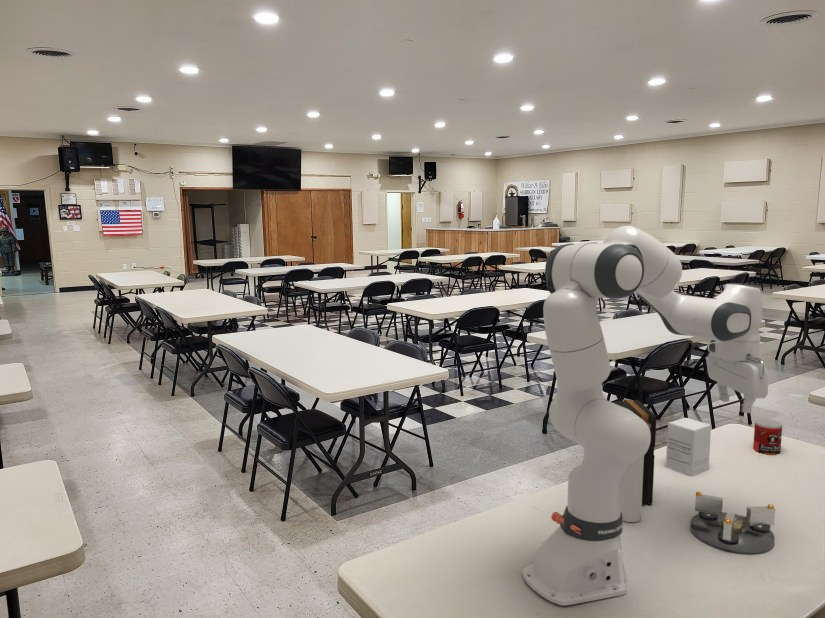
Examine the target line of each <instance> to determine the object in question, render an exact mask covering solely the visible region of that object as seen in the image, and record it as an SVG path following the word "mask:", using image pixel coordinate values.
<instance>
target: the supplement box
mask: <svg viewBox="0 0 825 618" xmlns="http://www.w3.org/2000/svg"><path fill="white" fill-rule="evenodd" d="M711 428H712V425H711V424H710V423H705V422H701V421H698V420H695V419H693V418H689V417H682V418H679V419H677V420H674V421H670V422H667V437H666V440H667V441H666V455H665V456H666V458H665V460H666V461H665V468H667V469H669V470H672V471H675V472H676V473H677V472H678V473H680V474H682V475H686V476H688V477H695V476H697V475H699V474H702V473H705V472H706V471H709V469H710V452H711V433H712V431H711Z"/></svg>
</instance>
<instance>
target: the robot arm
mask: <svg viewBox="0 0 825 618" xmlns="http://www.w3.org/2000/svg"><path fill="white" fill-rule="evenodd" d="M544 269H545V271H544V272H545V279H546V288H547V290H548V292H549V293H550V295H548V296H547V298H545V300H544V303H543V308H542V309H543V310H542V311H543V324H544V331H545V336H546V341H547V345H548V350H549V353H550V358H551V361H552V367H553V369H554V373H555V378H556V396H555V397H554V398H553V399H552V401H551V402H550V405H549V410H548V416H549V420H550V422H551V424H552V426H553V427H554V428H555V429H556V430H557V431H558V432H559V433H560V434H561V435H562V436H563V437H564V438H566V439H568V440H570V441H571V442H574V443H576V444H577V445H579V446H581V447H582V450H583V458H582V461H581V464H579V465H576V466H575V467H574V468H573V469H571V471H570V472H569V474H568V477H567V479H568V480H567V505H566V507H565V509H564V511H563V513H562V514H560V512H558V511H554V512H552V514H551V517H550V518H551V520H552V521H553V522H555V523H556V524H558V525H559V526H558V527H557V528H556V529H555V530H554V531H553V532H552V534H550V536H549V537H547V538H546V539H545V540H544V541H543V542H542V543H541V544H540V545H539V546H538V547H537V549H536V550H535V554H534V559H533V563H531V564H529V565H527V566H525V567H524V568H523V569H522V573H521V574H522V578H523V580H524V581H525V582H526V584H527V585H528V586H529V587H530V588H531V589H532V590H533V591H534V592H536V593H537V594H538V595H539V596H541V597H543V598H544V599H545V600H547V601H549V602H552V603H554V604H556V605H559V606H562V607H563V606H570V605H577V604H581V603H586V602H587V603H588V602H593V601H599V600H603V599H607V598H613V597H619V596H625V595H626V593H627V588H626V584H625V583H626V581H627V574H626V571H625V568H624V567H625V566H624V559H623V551H622V540H621V534H622V532H623V526H624V521H623V515H622V513H621V498H622V486H623V480H624V477H625V474H626V472H627V470H628V468H629V467H630V465H631V464H633V463H635V462H637V461H639V460H640V459H641V458H642V457H643V456H644V455H645V454H646V452H647V450H648V448H649V446H650V441H651V433H650V429H649V427H648V425H647V423H646V422H645V421H644V420H642V419H641V418H640V417H638V416H637V415H636V414H634V413H633V412H632V411H630V410H629V409H626V408H624V407H621V406H619V405H617V404H614V402H611V401H609V400H608V399H607V398H606V397H605V395H604V393H603V383H604V382H605V381H606V380H607V379H608V378H609V376H610V374H611V371H612V370H611V363H610V358H609V354H608V350H607V346H606V342H605V337H604V333H603V330H602V326H601V322H600V319H599V316H598V315H597V314H598V312H597V306H598V301H599V299H610V300H616V299H624V298H627V297H629V296H632V295H633V294H634V293H636V294H637V296H639V297H640V298H641V299H642V300H643V301H644V302H645V303H646V304H647V305H649V307H650V308H652V309H653V310H654V311H655V312H656V313H657V314H658V315H659V317H660V319H661V321H662V323H663V325H664V326H665V328H666V329H667V330H668V332H670V333H671V334H673V335H678V336H689V337H695V338H698V339H704V340H708V341H709V340H710V342H709V343H708V344H707V351H708V353H709V354H708V357H707V374H708V377H709V378H710V380H713V381H715V382H716V386H717V390H718V394H719V397H718V399H719V400H720V401H722V402H725V403H726V402H729V401H730V394H729V393H728V388H729V389H732V390H734V391H735V392H738V393H740V394H743V399H744V400H743V403H741V404H740V412H742V413H744V414H750V413H752V409H753V408H752V406H753V405H754V403H755V401H756V399H766V398H767V396H768V395H769V394H768V393H769V375H768V374H769V373H768V369H767V367H766V365H765V364H764V362H763V359H762V358H760V351H761V350H760V349H761V335H760V327H761V325H762V323H763V322H762V321H763V296H762V292H761V291H762V290H760V288H759V287H757V286H756V285H752V284H747V283H746V284H745V283H740V282H739V283H738V282H737V283H736V282H729V283H726V284H725V286H724V288H723V291H722V292H721V293H720V294H718V295H716V296H715V297H713V298H710V297H702V296H696V295H694V296H693V295H689V294H685V293H677V292H675V289H676V288H677V287H678V284H679V283H680V281H681V279H682V275H683V265H682V262H681V260H680V259H679V258H678V256H677V254H675V253H674V252H673V251H672V249H670V248H669V247H668V246H667V245H665V244H664V243H662V242H661V241H660V240H658V239H657V238H656V237H654V236H652V234H649V233H648V232H646V231H644V230H642V229H640V228H638V227H635V226H633V225H621V226H619V227H616V228H615V229H613V230H612V231H611V232H609V234H608V235H607V236H606V237H605V238H604V241H603V243H599V242H592V241H591V242H578V243H573V242H572V243H566V244H563V245H562V244H561V245H560V246H557V247H555V248H554V249H552V250H551V252H549V255H548V256H547V259H546V262H545V267H544Z"/></svg>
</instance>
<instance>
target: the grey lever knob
mask: <svg viewBox="0 0 825 618" xmlns="http://www.w3.org/2000/svg"><path fill="white" fill-rule="evenodd" d="M745 517H746V523H747V524H748V525H749V528H750V529H752V530H753V531H756V532H759V533H768V532H770V530H771V526H774V525H775V519H776V508H775V506H774V505H773V504H772V503H771V504H770V503H769V504H768V505H766V506H765V505H764V506H763V505H762V506H761V505H760V506H759V505H758V506H746V515H745Z"/></svg>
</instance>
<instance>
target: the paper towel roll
mask: <svg viewBox="0 0 825 618" xmlns="http://www.w3.org/2000/svg"><path fill="white" fill-rule="evenodd" d="M643 465H644V456H643V457H642V458H641V459H640V460H639V461H637V462H635V463H633V464H631V465H630V467H629V468H628V470H627V472H626V474H625V477H624V480H623V486H622V498H621V513H622V515H623V522H628V523H637V522H639V521H641V519H642V509H643V507H642V504H643V503H642V487H643Z"/></svg>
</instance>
